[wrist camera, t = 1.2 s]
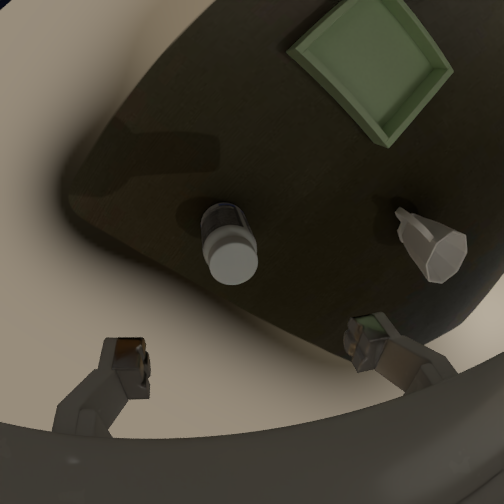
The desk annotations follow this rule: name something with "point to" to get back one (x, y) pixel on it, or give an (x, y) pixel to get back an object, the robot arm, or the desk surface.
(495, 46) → the desk surface
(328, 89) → the sage tray
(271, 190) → the desk surface
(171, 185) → the desk surface
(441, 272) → the cup
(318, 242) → the desk surface
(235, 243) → the pill bottle
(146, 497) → the robot arm
